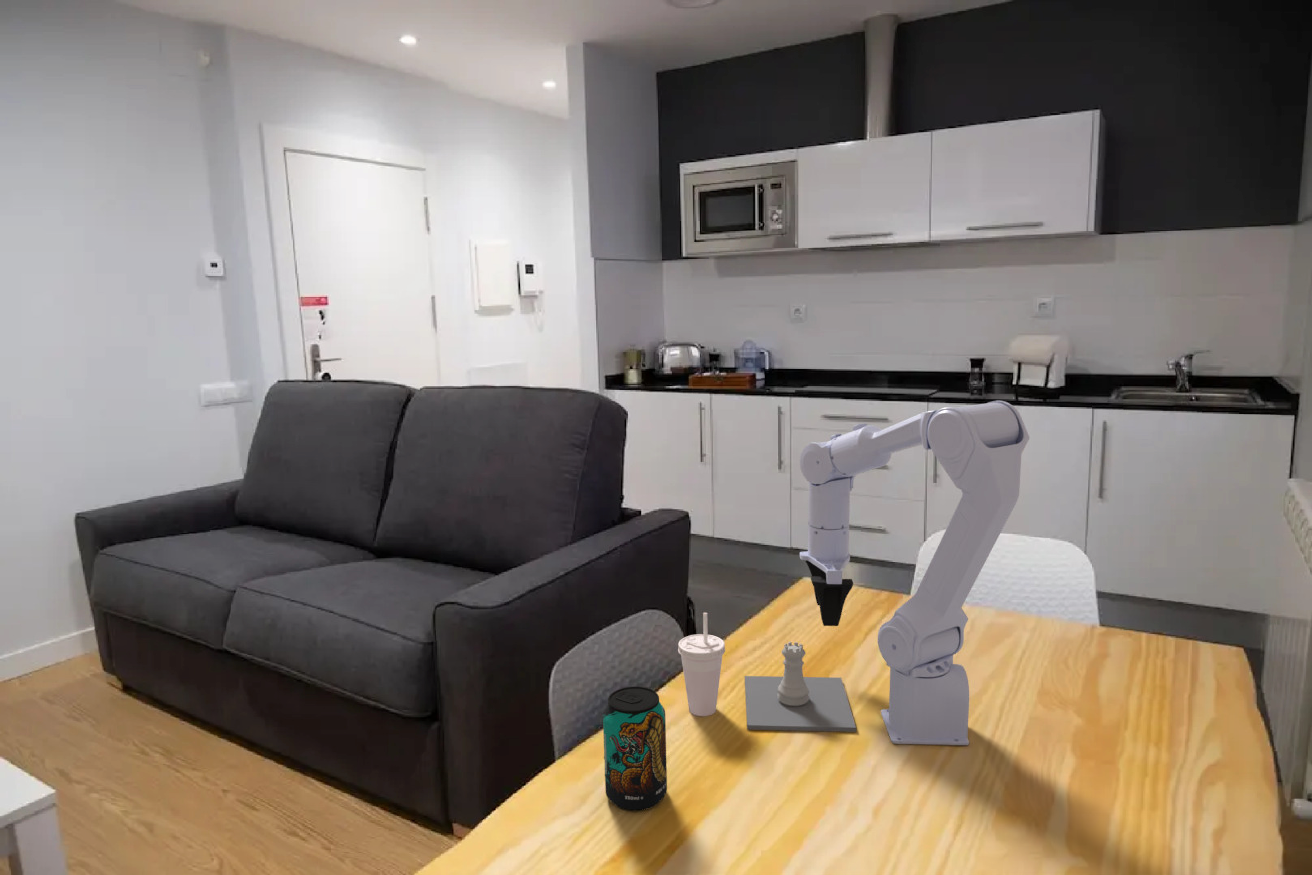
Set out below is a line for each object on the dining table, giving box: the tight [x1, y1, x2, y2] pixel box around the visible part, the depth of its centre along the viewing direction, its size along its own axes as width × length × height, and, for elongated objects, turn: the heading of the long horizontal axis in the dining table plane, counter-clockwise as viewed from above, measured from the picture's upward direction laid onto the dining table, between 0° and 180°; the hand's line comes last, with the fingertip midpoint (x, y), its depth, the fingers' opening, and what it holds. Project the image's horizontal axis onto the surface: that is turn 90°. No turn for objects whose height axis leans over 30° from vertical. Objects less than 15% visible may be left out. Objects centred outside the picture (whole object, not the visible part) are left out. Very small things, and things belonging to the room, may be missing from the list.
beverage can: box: [602, 686, 668, 812], centre depth 94 cm, size 7×7×12 cm
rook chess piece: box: [777, 641, 810, 707], centre depth 114 cm, size 4×4×8 cm
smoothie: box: [677, 612, 726, 717], centre depth 112 cm, size 6×6×14 cm
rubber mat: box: [744, 675, 857, 733], centre depth 114 cm, size 14×14×1 cm
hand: (827, 614), depth 120 cm, fingers open, 7 cm apart
